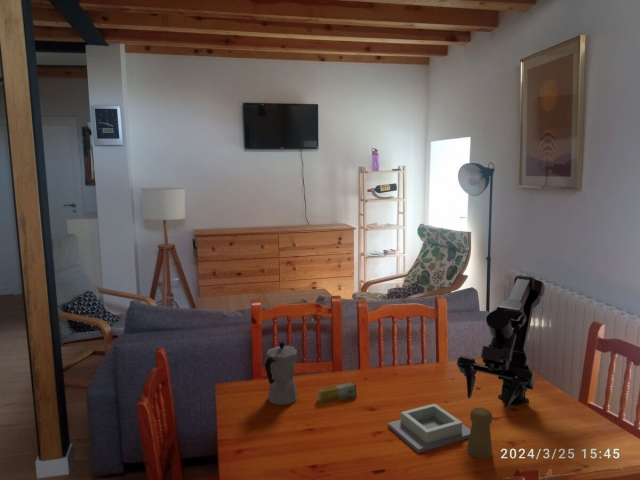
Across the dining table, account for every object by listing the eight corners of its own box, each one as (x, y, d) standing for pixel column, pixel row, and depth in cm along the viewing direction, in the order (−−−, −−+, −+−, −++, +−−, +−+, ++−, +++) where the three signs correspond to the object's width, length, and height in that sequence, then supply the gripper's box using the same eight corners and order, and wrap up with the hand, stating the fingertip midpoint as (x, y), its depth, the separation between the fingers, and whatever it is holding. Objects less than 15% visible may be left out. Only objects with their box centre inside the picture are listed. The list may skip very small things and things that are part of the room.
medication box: (353, 394, 154) (353, 381, 153) (357, 397, 151) (357, 385, 150) (317, 400, 149) (317, 388, 149) (320, 404, 147) (320, 391, 146)
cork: (494, 460, 118) (496, 417, 116) (468, 457, 119) (469, 415, 118) (490, 446, 124) (492, 405, 122) (465, 443, 125) (467, 403, 123)
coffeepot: (280, 386, 158) (279, 333, 156) (306, 392, 154) (305, 337, 151) (253, 407, 145) (252, 349, 142) (281, 414, 140) (279, 354, 138)
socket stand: (440, 412, 141) (441, 399, 141) (475, 436, 129) (475, 421, 128) (387, 426, 134) (387, 412, 133) (418, 453, 121) (418, 438, 121)
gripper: (460, 326, 131) (443, 380, 123) (535, 340, 120) (521, 399, 113) (468, 346, 138) (453, 397, 131) (539, 360, 128) (527, 417, 120)
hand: (486, 402), depth 124 cm, fingers open, 9 cm apart
